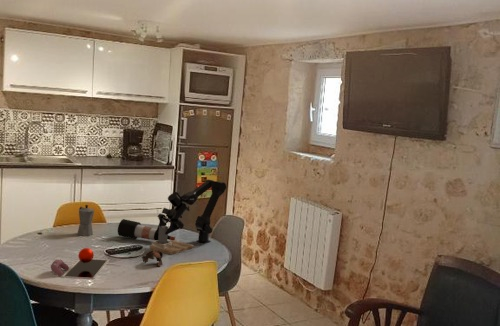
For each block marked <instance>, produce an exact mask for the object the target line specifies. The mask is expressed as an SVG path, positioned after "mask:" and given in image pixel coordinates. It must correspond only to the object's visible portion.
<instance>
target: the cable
mask: <svg viewBox="0 0 500 326" xmlns="http://www.w3.org/2000/svg"><path fill="white" fill-rule="evenodd" d="M117 235H118V236H120V237H124V238H129V239H132V240H137V239H138V238H141V239H145V240H151V241H157V240H158V237H159V231H158V232H157V228H153V227H150V226H146V225H142V224H141V222H139V221H134V220H130V219H125V218H122V219H121V220H120V222H119V224H118V226H117ZM170 240H175V241H176V236H173V235H172V236H171V235H170V234H168V238H167V241H170Z"/></svg>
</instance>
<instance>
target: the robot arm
mask: <svg viewBox="0 0 500 326" xmlns="http://www.w3.org/2000/svg"><path fill="white" fill-rule="evenodd" d="M209 189H211V194H210V198H209V200H208V202H207V204H206V206H205V208H204V211H203V213H202V215H198V216H196V217H197V218H196V220H195V225H194V226H195V228H196V231H197V232H198V237H197V238H198V239H196V242H197V243H202V244H207V243H210V242H212V241H211V240H209V239H210V234H212V233H213V228H212V227H211V217H212V214H213V212H214V210H215V207H216V206H217V203H218V201H219V198H220V197H221V196H222V195H224V193H225V191H226V190H227V184H226V182H224V181H220V180H216V181H215V180H212V179H206V180H205V181H204V182H203V183H202V184H200V185H199V186H198V187H196V188H195V189H193V190H192V191H187V192H186V193H184V194H182V195H180V194H179V192H177V191H175V192H173V193H171V194H169V195H168V197H167V201H168V202H169V203H170V205H171V206H173V207H174V208H170V209H169V208H166V207H163V208H162V211H161V213H159V214H158V215H157V218H158V221H159V222H158V226H157V228H156V229H157V232H158V231H159V226H167V224H168V223H170V225H169V227H168V230H167V231H166V233H165V234H166V235H167V234H168V235H170V233H171V234H172V232H176V231H178V230H183V228H184V226H185V225H184V223H183V222H182V221H181V219H182V218H183V215H184V213H185V212H186V211H187V212H190V206H192V205H194V204H195V203H196V201H198V198H199V197H200V196H201V195H203V194H204V193H206V192H207V191H208V190H209Z"/></svg>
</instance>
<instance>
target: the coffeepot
mask: <svg viewBox="0 0 500 326" xmlns="http://www.w3.org/2000/svg"><path fill="white" fill-rule="evenodd" d="M94 214H95V209H94V208H89V205H88V204H86V205H85V207H84V206H80V207H79V209H78V217H79V225H78V230H77V235H78V236H80V237H89V236H90V235H91V236H93V235H94V233H93V225H92V222H93V218H94ZM91 236H90V237H91Z"/></svg>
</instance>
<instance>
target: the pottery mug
mask: <svg viewBox="0 0 500 326" xmlns="http://www.w3.org/2000/svg"><path fill="white" fill-rule="evenodd" d="M163 254H164V253H163V252H162V251H156V250H153V249H151V250H150V251H148V252H146V253H145V254H143V256H142V257H141V258H142V262H143V263H145V264H146V263H148V261H149V259H150V260H154V259H156V262H157V265H158V267H161V266H162V265H163V261H162V259H163V256H164V255H163ZM154 257H155V258H154Z"/></svg>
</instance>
